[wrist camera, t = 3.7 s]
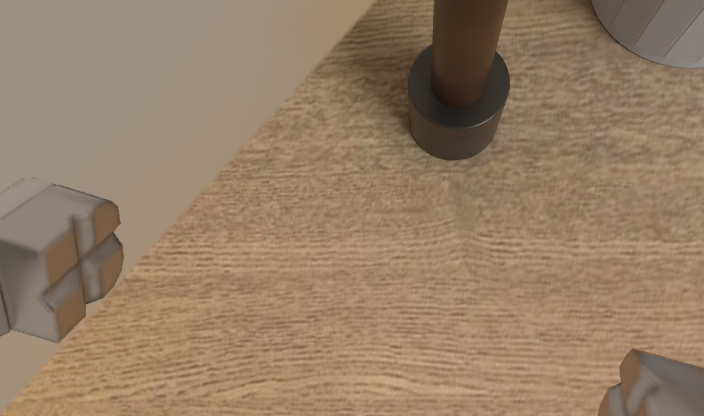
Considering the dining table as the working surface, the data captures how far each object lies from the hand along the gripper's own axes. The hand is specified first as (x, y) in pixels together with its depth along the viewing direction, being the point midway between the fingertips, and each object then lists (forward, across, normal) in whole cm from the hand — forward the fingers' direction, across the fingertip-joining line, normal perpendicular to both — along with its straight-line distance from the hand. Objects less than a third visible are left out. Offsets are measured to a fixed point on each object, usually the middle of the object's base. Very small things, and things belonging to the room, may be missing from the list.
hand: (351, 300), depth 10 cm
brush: (+19, 0, +5) cm, 20 cm away
